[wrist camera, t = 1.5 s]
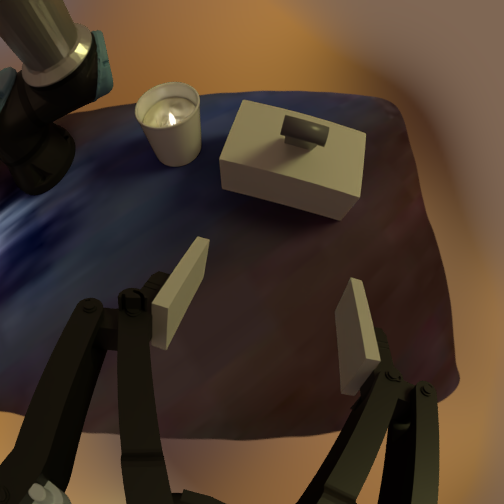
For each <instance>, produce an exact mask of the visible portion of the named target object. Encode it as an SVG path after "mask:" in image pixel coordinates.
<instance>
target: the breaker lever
mask: <svg viewBox="0 0 504 504" xmlns="http://www.w3.org/2000/svg"><path fill="white" fill-rule="evenodd" d="M328 134H329V127H327V126H324V125H321V124H317V123H314V122H310V121H307V120H303V119H299V118H296V117H292V116H288V115H285V117H284V121H283V124H282V128H281V133H280V135H282V136H285V141H284V143H285V144H289V145H293V146H297V147H300V148H304V149H307V150H311V151H312V150H313V149H314V148H315V147H316V146H317V145H318V146H322V147H324V146H325V144H326V141H327V138H328Z"/></svg>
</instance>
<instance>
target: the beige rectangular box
mask: <svg viewBox="0 0 504 504" xmlns="http://www.w3.org/2000/svg"><path fill="white" fill-rule="evenodd" d="M285 115H288V116H292V117H296V118H299V119H303V120H307V121H310V122H314V123H317V124H321V125H324V126H327V127H329V134H328V138H327V141H326V144H325V146H324V147H322V146H318V145H317V146H316V147H315V148H314V149H313V150H312V151H311V150H307V149H304V148H300V147H297V146H293V145H289V144H285V143H284V141H285V136H282V135H280V133H281V128H282V124H283V121H284V117H285ZM365 141H366V133H363V132H360V131H357V130H354V129H351V128H348V127H345V126H342V125H339V124H336V123H333V122H329V121H326V120H323V119H319V118H316V117H312V116H309V115H305V114H302V113H298V112H294V111H290V110H286V109H282V108H278V107H274V106H270V105H265V104H261V103H256V102H252V101H247V100H243V101H242V104H241V106H240V108H239V111H238V113H237V116H236V118H235V120H234V123H233V125H232V128H231V130H230V133H229V135H228V138H227V140H226V143H225V145H224V148H223V150H222V153H221V156H220V158H219V163H220V174H221V185H222V189H225V190H229V191H233V192H237V193H241V194H245V195H249V196H253V197H256V198H260V199H264V200H268V201H272V202H275V203H279V204H283V205H286V206H290V207H294V208H297V209H301V210H304V211H308V212H311V213H315V214H318V215H322V216H325V217H329V218H332V219H335V220H339V221H341V220H342V218H343V217H344V216H345V215H346V214H347V213H348V211H349V210H350V209H351V208H352V207H353V205H354V204H355V203H356V202H357V200H358V199H359V198H360V192H361V184H362V174H363V164H364V153H365Z"/></svg>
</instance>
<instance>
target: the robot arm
mask: <svg viewBox="0 0 504 504" xmlns="http://www.w3.org/2000/svg"><path fill="white" fill-rule="evenodd" d="M0 37H1V38H2V39H3V40H4V41H5V42H6V44H7V45H8V46H9V47H10V48H11V49H12V51H13V52H14V53H15V54H16V55H17V56H18V58H19V59H20V60H21V61H22V62H23V65H22V70H21V71H19V72H18V73H17V72H16V70H15V69H13V68H12V67H8V68H5V69H3V70H1V71H0V159H1V160H2V161H3V162H4V163H5V164H6V165H7V166H8V168H9V170H10V172H11V175H12V177H13V179H14V181H15V183H16V185H17V186H18V187H19V188H20V189H21V190H22V191H24V192H25V193H26V194H29V195H38V194H42V193H44V192H46V191H48V190H50V189H51V188H52V187H54V186H55V185H56V184H57V183H58V182H59V181H60V180H61V179H62V178H63V177H64V175H65V174H66V173H67V171H68V169H69V168H70V166H71V164H72V161H73V159H74V155H75V142H74V140H73V138H72V136H71V135H70V134H69V132H68V131H67V130H66V129H64V128H62V127H61V126H59V125H57V124H55V123H53V121H55V120H57V119H59V118H61V117H63V116H65V115H67V114H68V113H70V112H72V111H74V110H76V109H78V108H80V107H83V106H85V105H87V104H89V103H91V102H95V101H96V100H97V99H98V98H100V97H102V96H104V95H106V94H108V93H109V92H110V91H111V90H112V88H113V78H112V73H111V69H110V64H109V60H108V55H107V50H106V46H105V41H104V37H103V33H102V32H101V31H99V30H97V31H92V32H90V31H89V29H88V28H87V27H86V26H84V25H81V24H78V23H74V22H73V20H72V18H71V16H70V14H69V12H68V10H67V8H66V6H65V4H64V2H63V0H0ZM209 241H210V240H209V239H205V238H201V237H197V238H196V239H195V241H194V242H193V244H192V245H191V246H190V248H189V249H188V251H187V252H186V254H185V255H184V256H183V258H182V259H181V261H180V262H179V264H178V265H177V266H176V268H175V269H174V271H173V272H172V274H171V275H170V274H167V273H163V272H160V271H159V272H157V273H155V274H153V275H151V277H150V278H149V279H148V281H147V282H146V283H145V285H144V287H142V289H141V290H140V289H136V288H128V289H125V290H123V291H122V292H120V293H119V296H118V305H119V309H110V308H103V305H102V303H101V302H100V301H99V300H97V299H95V298H87V299H83V300H81V301H80V302H79V303H78V304H77V306H76V308H75V309H74V311H73V313H72V315H71V317H70V319H69V321H68V322H67V324H66V326H65V328H64V330H63V332H62V334H61V336H60V338H59V340H58V342H57V344H56V346H55V348H54V350H53V352H52V354H51V357H50V359H49V361H48V363H47V365H46V367H45V370H44V372H43V374H42V376H41V379H40V381H39V383H38V385H37V388H36V390H35V393H34V395H33V397H32V400H31V402H30V405H29V408H28V410H27V413H26V415H25V418H24V421H23V423H22V426H21V429H20V432H19V435H18V438H17V441H16V444H15V447H14V449H13V450H12V452H10V454H9V455H8V456H7V457H6V459H5V460H4V461H3V462H2V464H1V465H0V504H71V502H70V500H69V498H68V497H67V495H66V494H65V491H66V488H67V486H68V483H69V480H70V477H71V473H72V469H73V465H74V461H75V456H76V452H77V448H78V444H79V440H80V436H81V433H82V429H83V425H84V422H85V418H86V415H87V411H88V408H89V405H90V401H91V398H92V395H93V391H94V388H95V385H96V382H97V379H98V376H99V373H100V370H101V367H102V364H103V361H104V358H105V355H106V352H107V350H115V351H118V355H117V375H118V409H119V427H120V439H121V450H122V455H121V468H122V475H123V484H124V490H125V496H126V503H127V504H225V503H223V502H221V501H219V500H217V499H214V498H213V497H211V496H207V495H203V494H199V493H195V492H192V491H188V490H185V489H184V490H183V493H171V490H170V485H169V480H168V475H167V470H166V465H165V460H164V456H163V452H162V447H161V441H160V434H159V428H158V421H157V414H156V406H155V398H154V390H153V380H152V371H151V360H150V347H149V342H150V340H151V338H152V346H155V347H158V348H161V349H164V350H167V348H168V346H169V344H170V342H171V340H172V338H173V336H174V334H175V332H176V330H177V328H178V326H179V324H180V322H181V320H182V318H183V316H184V314H185V312H186V310H187V308H188V306H189V304H190V302H191V300H192V298H193V296H194V295H195V293H196V291H197V289H198V287H199V285H200V283H201V281H202V279H203V277H204V271H205V265H206V259H207V253H208V247H209ZM335 319H336V330H337V341H338V353H339V367H340V383H341V394H347V395H354V396H355V395H356V393H357V392H358V391H359V389H360V393H361V396H360V397H359V399H358V400H357V401H356V402H355V403H354V405H353V406H352V407H351V408H350V409H352V411H351V413H350V415H349V417H348V419H347V421H346V423H345V425H344V427H343V429H342V430H341V432H340V434H339V436H338V438H337V440H336V441H335V443H334V445H333V447H332V448H331V450H330V452H329V454H328V455H327V457H326V459H325V460H324V462H323V464H322V465H321V467H320V468H319V470H318V472H317V474H316V475H315V476H314V478H313V479H312V481H311V483H310V484H309V486H308V487H307V489H306V490H305V492H304V493H303V495H302V496H301V497H300V499H299V500H298V502H297V503H296V504H357V503H356V499H357V497H358V495H359V493H360V491H361V488H362V486H363V484H364V482H365V480H366V478H367V476H368V474H369V472H370V469H371V467H372V465H373V463H374V460H375V458H376V456H377V453H378V451H379V449H380V446H381V444H382V441H383V439H384V436H385V433H386V431H387V428H388V434H387V444H386V453H385V461H384V468H383V475H382V481H381V487H380V493H379V499H378V504H437V501H438V486H439V425H438V424H439V423H438V406H437V394H436V390H435V388H434V387H433V386H432V385H431V384H430V383H428V382H426V381H420V382H418V383H417V384H416V386H415V385H412V384H410V383H408V382H406V381H404V380H403V377H402V374H401V373H400V372H399V370H397V369H396V368H394V366H393V362H392V357H391V353H390V350H389V345H388V341H387V337H386V335H385V333H384V332H383V330H382V329H380V328H376V327H373V323H372V319H371V315H370V311H369V306H368V302H367V299H366V295H365V291H364V287H363V283H362V281H361V280H357V279H354V278H350V280H349V282H348V285H347V287H346V289H345V291H344V293H343V295H342V298H341V300H340V302H339V304H338V306H337V308H336V310H335Z"/></svg>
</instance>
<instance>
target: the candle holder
mask: <svg viewBox="0 0 504 504" xmlns="http://www.w3.org/2000/svg"><path fill="white" fill-rule="evenodd" d="M199 104H200V98H199V94H198V92H197V91H196V90H195V89H194V88H193V87H192V86H190V85H188V84H185V83H181V82H168V83H163V84H160V85H157V86H155V87H153V88H151V89H149V90H148V91H147V92H146V93H144V94H143V95H142V96H141V97H140V99H139V100H138V102H137V104H136V107H135V116H136V119H137V121H138V122H139V124H140V126H141V128H142V130H143V132H144V133H145V135H146V137H147V139H148V141H149V143H150V145H151V147H152V149H153V151H154V153H155V154H156V156H157V158H158V159H159V160H160V161H161V162H162V163H163V164H165V165H167V166H171V167H179V166H183V165H186V164H188V163H190V162H192V161H193V160H194V159H195V158H196V157H197V156H198V154H199V153H200V150H201V124H200V106H199Z"/></svg>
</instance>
